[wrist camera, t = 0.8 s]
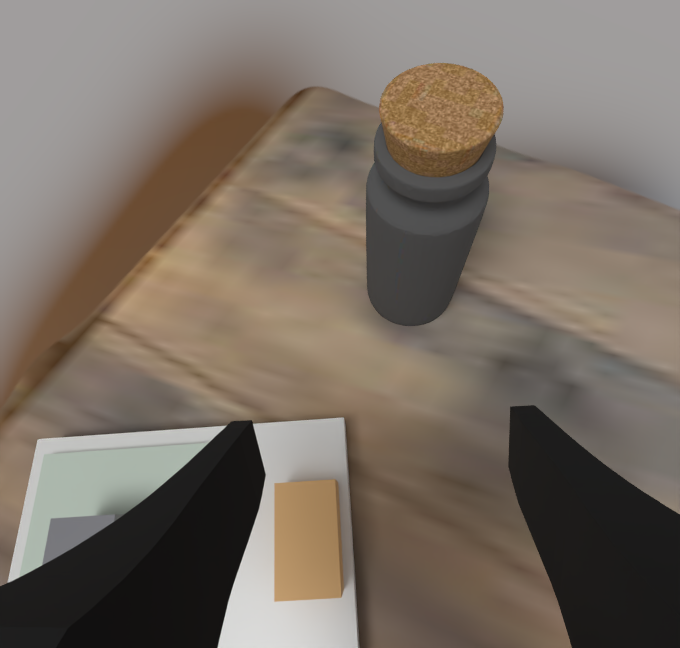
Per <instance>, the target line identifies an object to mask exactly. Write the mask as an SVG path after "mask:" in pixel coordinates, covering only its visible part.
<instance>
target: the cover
mask: <svg viewBox="0 0 680 648" xmlns="http://www.w3.org/2000/svg"><path fill="white" fill-rule="evenodd" d="M207 444H208V443H199V444H185V445H171V446H156V447H142V448H128V449H114V450H99V451H85V452H71V453H57V454H44V457H43V462H42V467H41V472H40V477H39V481H38V486H37V491H36V496H35V501H34V506H33V511H32V516H31V521H30V526H29V531H28V536H27V541H26V546H25V551H24V555H23V560H22V565H21V570H20V575H19V577H21V576H23V575H25V574H27V573H29V572H31V571H33V570H34V569H36V568H38V567H40V566H42V565H44V564H45V563H47V562H49V561H51V560H53V559H55V558H56V557H58V556H60V555H61V554H63V553H65V552H67V551H68V550H70V549H72V548H74V547H75V546H77V545H78V544H80V543H82V542H83V541H85V540H86V539H88V538H89V537H91V536H92V535H94V534H96V533H97V532H99V531H100V530H102V529H103V528H105V527H107V526H108V525H110V524H111V523H113V522H114V521H116V520H117V519H118V518H120V517H121V516H123V515H124V514H125V513H127V512H128V511H130V510H131V509H132V508H134V507H135V506H136V505H138V504H139V503H140V502H142V501H143V500H144V499H146V498H147V497H148V496H149V495H151V494H152V493H153V492H154V491H155V490H157V489H158V488H159V487H160V486H161V485H162V484H164V483H165V482H166V481H167V480H168V479H169V478H171V477H172V476H173V475H174V474H175V473H176V472H178V471H179V470H180V469H181V468H182V467H183V466H184V465H186V464H187V463H188V462H189V461H190V460H191V459H192V458H193V457H194V456H195V455H196V454H197V453H198V452H200V451H201V450H202V449H203V448H204V447H205V446H206V445H207Z"/></svg>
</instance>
